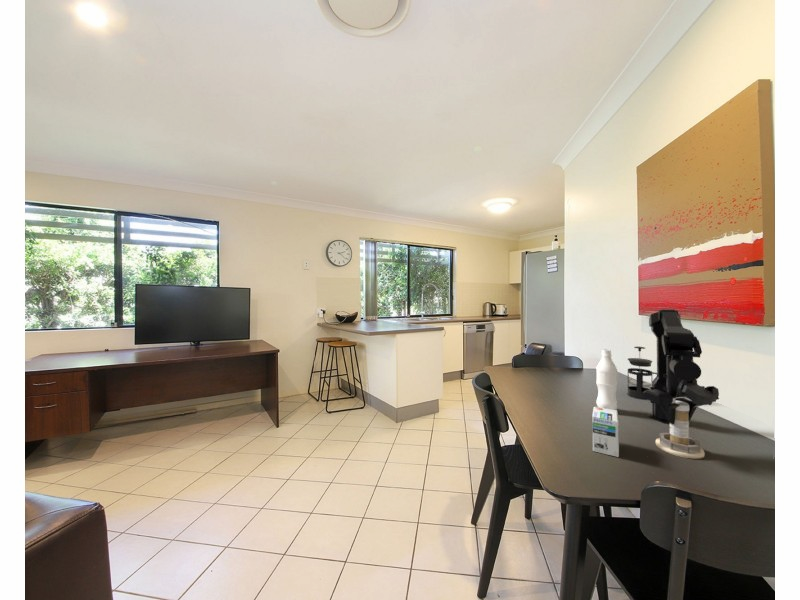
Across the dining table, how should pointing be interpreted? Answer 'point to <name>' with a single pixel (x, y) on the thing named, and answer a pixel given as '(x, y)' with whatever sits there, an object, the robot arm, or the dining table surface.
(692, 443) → the collar socket
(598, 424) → the light bulb box
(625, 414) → the dining table surface
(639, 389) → the french press
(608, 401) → the water bottle
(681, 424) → the sprinkles bottle
